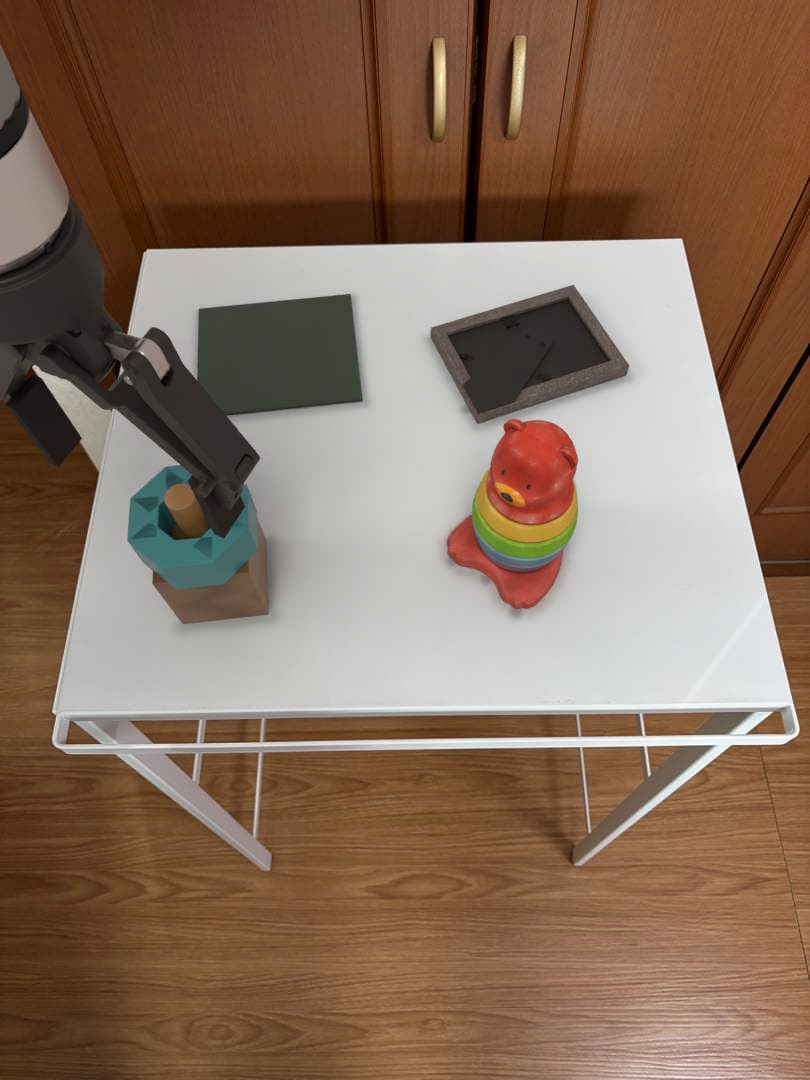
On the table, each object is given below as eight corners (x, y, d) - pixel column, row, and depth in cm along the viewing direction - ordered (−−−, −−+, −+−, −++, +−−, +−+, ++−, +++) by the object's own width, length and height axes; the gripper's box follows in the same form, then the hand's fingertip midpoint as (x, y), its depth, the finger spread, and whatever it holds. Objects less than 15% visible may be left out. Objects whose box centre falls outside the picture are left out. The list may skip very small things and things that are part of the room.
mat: (197, 418, 81) (196, 416, 80) (199, 311, 88) (198, 308, 88) (362, 401, 81) (362, 398, 81) (350, 296, 89) (350, 293, 89)
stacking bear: (437, 549, 73) (442, 442, 57) (503, 484, 76) (525, 366, 60) (524, 619, 69) (555, 525, 53) (589, 547, 72) (636, 439, 57)
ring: (141, 593, 61) (124, 572, 58) (147, 494, 66) (131, 469, 62) (258, 580, 61) (248, 558, 58) (256, 483, 66) (247, 457, 62)
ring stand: (182, 624, 69) (124, 547, 56) (184, 549, 73) (130, 459, 60) (268, 614, 70) (231, 535, 56) (266, 540, 73) (230, 449, 60)
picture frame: (477, 424, 80) (626, 375, 82) (478, 412, 78) (630, 363, 81) (430, 337, 86) (571, 294, 88) (430, 324, 84) (574, 281, 87)
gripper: (278, 250, 31) (331, 507, 50) (-159, 106, 37) (36, 387, 56) (180, 375, 28) (275, 600, 47) (-282, 198, 34) (-32, 463, 52)
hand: (146, 485), depth 51 cm, fingers open, 13 cm apart
